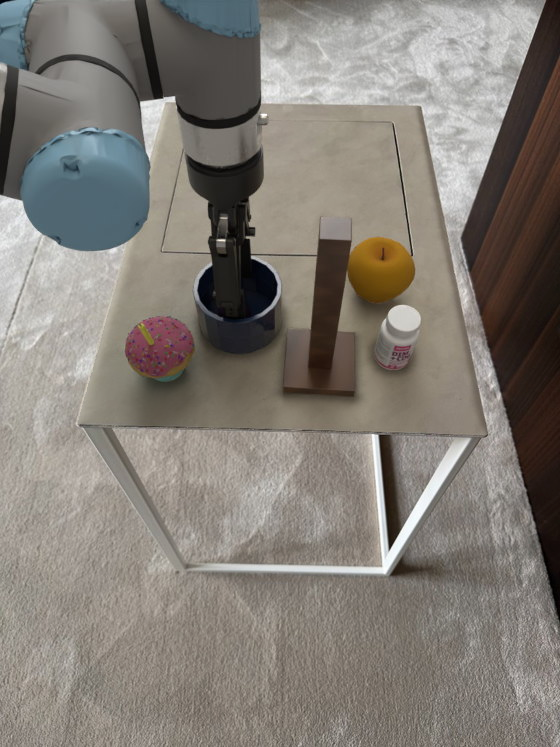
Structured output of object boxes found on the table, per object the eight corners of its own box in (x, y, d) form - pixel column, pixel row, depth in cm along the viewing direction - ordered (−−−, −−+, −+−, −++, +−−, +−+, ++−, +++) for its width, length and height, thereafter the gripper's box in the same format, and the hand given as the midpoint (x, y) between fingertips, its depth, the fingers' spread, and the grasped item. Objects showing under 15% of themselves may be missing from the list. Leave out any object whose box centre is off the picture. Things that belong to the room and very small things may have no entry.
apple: (416, 285, 78) (431, 239, 70) (390, 328, 74) (403, 285, 66) (359, 261, 81) (368, 214, 73) (331, 302, 77) (337, 257, 69)
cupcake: (182, 402, 68) (165, 349, 58) (121, 383, 70) (94, 328, 59) (208, 348, 72) (197, 290, 62) (150, 331, 74) (130, 271, 64)
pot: (194, 352, 72) (186, 320, 66) (206, 286, 78) (200, 251, 72) (278, 357, 72) (278, 325, 66) (284, 290, 78) (284, 256, 72)
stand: (282, 392, 69) (284, 261, 48) (287, 334, 74) (290, 192, 53) (353, 397, 69) (385, 267, 48) (353, 338, 73) (382, 197, 53)
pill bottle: (389, 377, 70) (401, 340, 63) (366, 351, 72) (375, 313, 65) (417, 360, 72) (432, 322, 64) (394, 335, 74) (406, 295, 66)
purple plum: (227, 329, 74) (213, 324, 69) (226, 303, 74) (212, 296, 70) (252, 327, 73) (239, 321, 68) (251, 300, 73) (238, 293, 69)
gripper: (253, 224, 46) (260, 366, 66) (271, 84, 56) (273, 243, 76) (165, 219, 46) (198, 363, 66) (199, 82, 57) (219, 241, 76)
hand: (238, 299), depth 71 cm, fingers open, 7 cm apart
